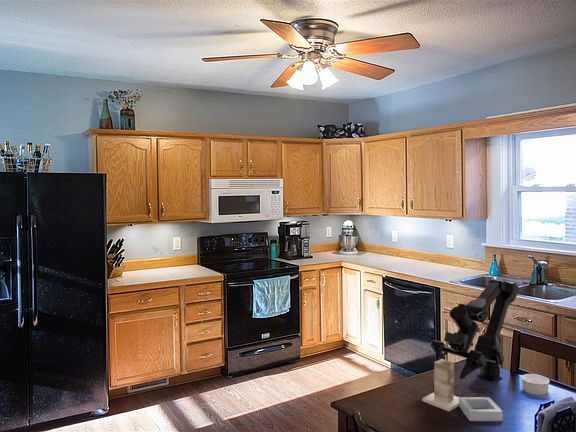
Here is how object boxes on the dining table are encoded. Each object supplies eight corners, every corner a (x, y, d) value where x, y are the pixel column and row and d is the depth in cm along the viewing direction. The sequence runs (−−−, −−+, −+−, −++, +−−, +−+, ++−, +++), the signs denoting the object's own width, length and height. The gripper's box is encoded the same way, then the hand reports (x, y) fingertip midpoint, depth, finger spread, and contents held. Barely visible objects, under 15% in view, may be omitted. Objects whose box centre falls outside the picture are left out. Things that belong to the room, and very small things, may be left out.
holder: (458, 406, 152) (458, 397, 152) (489, 406, 152) (489, 397, 152) (469, 421, 142) (469, 411, 142) (502, 421, 142) (502, 411, 142)
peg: (441, 394, 159) (441, 359, 158) (453, 399, 155) (453, 362, 155) (434, 398, 156) (434, 362, 155) (446, 403, 152) (446, 365, 152)
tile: (438, 392, 163) (438, 390, 163) (465, 402, 155) (465, 399, 155) (422, 401, 156) (422, 398, 156) (449, 411, 149) (449, 408, 149)
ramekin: (543, 398, 158) (544, 385, 158) (516, 390, 164) (517, 378, 164) (553, 390, 164) (553, 378, 164) (526, 383, 170) (527, 371, 170)
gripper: (432, 317, 166) (414, 355, 160) (482, 328, 152) (464, 370, 146) (445, 334, 172) (427, 371, 165) (494, 346, 158) (477, 387, 151)
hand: (448, 374), depth 157 cm, fingers open, 9 cm apart
